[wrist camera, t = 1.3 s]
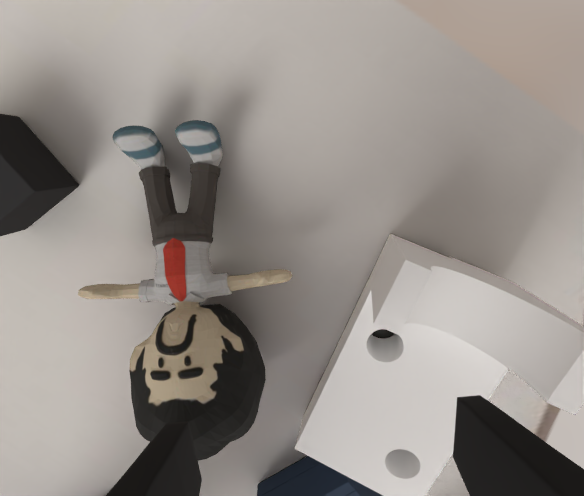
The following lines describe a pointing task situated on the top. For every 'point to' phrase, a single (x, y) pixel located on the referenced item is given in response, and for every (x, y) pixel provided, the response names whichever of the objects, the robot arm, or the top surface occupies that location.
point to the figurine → (189, 305)
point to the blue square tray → (312, 482)
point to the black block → (27, 177)
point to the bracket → (431, 366)
